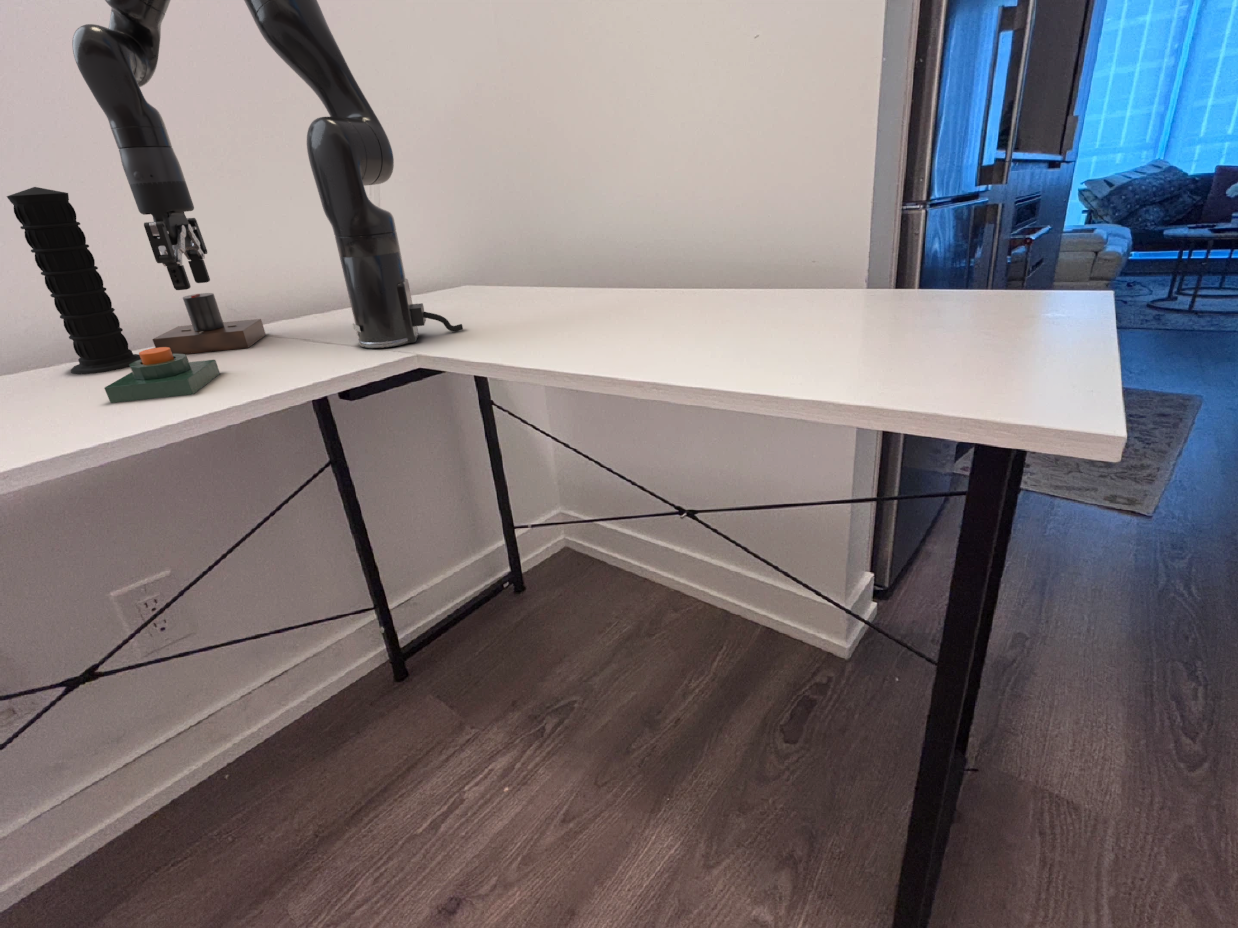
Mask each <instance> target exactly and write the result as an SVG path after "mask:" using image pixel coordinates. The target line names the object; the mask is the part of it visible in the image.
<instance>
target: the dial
mask: <svg viewBox="0 0 1238 928" xmlns="http://www.w3.org/2000/svg"><path fill="white" fill-rule="evenodd" d="M182 300H183V303H184V305H185V309H186V312H187V315H188V317H189V320H190V324H191V325H192V326H193V329H194V331H208V330H214V329H218V328H222V327H224V323H223V322H224V321H223V318H222V315H221V311H220V308H219V306H218V302H217V299H216V296H215V294H214V292H201V293H195V294H188V295H185V296H182Z"/></svg>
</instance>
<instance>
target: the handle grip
mask: <svg viewBox="0 0 1238 928" xmlns="http://www.w3.org/2000/svg"><path fill="white" fill-rule="evenodd" d="M6 198H7V199H8V201H9V202H10V203H11V204H12V205H13V213H14V216H15V218H16V219H17V221H18V222H19V223H20V224H21V226H20V229H21V230H24V238H25V241H26V243H27V245H28V246H29V247H30V248H31V249H30V252H31V253H33V254H34V261H35V263H36V265H37V267H38V268H39V270H40V271H41V272H40V275H42V276H44V284H45V287H46V289H47V290H48V291H49V292H50V293H51V294H50V295H49V296H50V297H51V298H53V301H54V302H53V303H54V306H55V309H56V311H57V312H58V313H59V314H60V315H59V319H61V320H63V327H64V329H65V331H66V333H67V334H68V335H69V336H68V339H69V340H72V346H73V349H74V353H75V354H76V355H77V356H78V357H79V358H78V364H75V365H74V366H73V367H72V368H70V374H72V375H80V376H81V375H96V374H101V373H109V372H115V371H119V370H124V369H128V368H130V366H129V364H131V363H133V362H135V361H137V360H141V358H140V355H139V353H133V350H132V349H130V348H129V343H128V340H127V338H126V336H125V335H124V334H123V333H122V332H123V330H124V329H123V328H122V327H121V322H120V319H119V317H118V316H117V315H116V313H115V310H116V309H115V308H114V307H113V305H112V299H111V297H110V295H108V294H107V292H106V291H107V288H106V287H104V279H103V278H102V276H101V274H100V272H98V271H97V270H98V269H99V267H98V266H97V265H96V263H95V262H96V261H95V257H94V256H93V253H92V252H91V250H90V249H88V248H89V247H90V245H89V244H87V239H86V238H87V237H86V235H85V232H84V231H83V230H82V228H81V227H80V226H81V223H80V221H78V220H77V212H76V210H75V207H73V205H72V204H71V203H70V201H69V200H70V197H69V192H64V191H58V190H54V189H49V188H44V187H39V186H38V187H37V186H33V187H30V188H27V189H24V190H21V191H18V192H15V193H11V194H9V195H7V196H6Z"/></svg>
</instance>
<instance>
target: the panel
mask: <svg viewBox="0 0 1238 928" xmlns="http://www.w3.org/2000/svg"><path fill="white" fill-rule="evenodd" d="M223 323H224V327H222V328H218V329H214V330H208V331H194V329H193V326H192V324H189V325H178V326H176V327H173V328H172V329H169V330H168V331H166V332H164V333H162V334H160V335H158V336H156V337H154V338H152V343H153V345H154V348H159V347H169V348H170V349H171V352H172V354H185V355H192V354H201V353H212V352H221V351H233V350H243V349H249V348H251V347H252V346H253V345H254V344H256V343H257V342H259V341H260V340H261V339H262V338H264V337H265V336H266V335H267V334H266V331H265V327H264V324H263V320H262V318H256V319H255V318H254V319H243V320H233V321H223Z"/></svg>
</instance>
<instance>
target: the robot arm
mask: <svg viewBox="0 0 1238 928" xmlns="http://www.w3.org/2000/svg"><path fill="white" fill-rule="evenodd" d="M243 1H244V3H245V6H246V8H247V10H248V11H249V13H250V15H251V17H252V19H253V21H254V23H255V25H256V27H257V29H258V31H259V33H260V35H261V36H262V37H263V39H264V40H265V42H266V43H267V45H268V46H269V47H270V48H271V49H272V50H273V51H274V53H275V54H276V55H277V56H278V57H279V58H280V59H281V60H282V61H283V62H284V63H285V64H286V65H287V66H288V68H290V69H291V70H292V71H293V72H294V73H295V74H296V76H298V77H300V79H301V80H302V81H303V82H304V83H305V84H306V85H307V86H308V87H309V88H310V89H311V90H312V91H313V92H314V94H315V95H316V96H317V97H318V100H320V101H321V103H322V105H323V107H324V108H325V109H326V111H327V113H328V115H329V116H321V117H320V116H319V117H317V118H315V119H314V120H312V121H311V123H310V124H309V126H308V129H307V132H306V152H307V156H308V161H309V166H310V169H311V172H312V176H313V179H314V183H315V186H316V189H317V193H318V196H319V199H320V203H321V207H322V210H323V213H324V215H325V217H326V218H327V220H328V222H329V224H330V225H331V228H332V231H333V235H334V240H335V244H336V248H337V252H338V256H339V261H340V265H341V269H342V273H343V278H344V282H345V285H346V291H347V295H348V299H349V305H350V308H351V311H352V317H353V320H354V323H352V327H353V330H355V331H356V334H357V337H358V344H359V346H360V347H362V348H366V349H385V348H391V347H398V346H403V345H407V344H413V343H416V342H417V340H418V337H419V330H418V329H419V328H418V327H423V326H425V325H426V321H427V319H428V320H434V321H437V322H440V323H442V324H443V325H444V327H445V328H446V329H447V330H448V331H449V332H452V333H453V332H460V331H463V330H464V329H463V328H464V326H463V324H462V323H459V324H456V325H452V324H451V323H450V321H449V320H448V319H447V318H446V317H444V316H442V315H440V314H437V313H432V312H428V311H425V307H424V303H423V302H422V303H413V299H412V294H411V288H410V283H409V279H408V278H406V274H405V273H406V272H405V269H404V264H403V263H404V261H403V258H402V253H401V248H400V243H399V237H398V232H397V226H396V222H395V218H394V215H393V214H392V213H391V211H388V210H386V209H384V208H381V207H379V206H377V205H376V204H374V203H373V202H372V201H371V199H370V198H369V196H368V194H367V191H366V186H374V185H381V184H384V183H386V182H388V181H389V180H390V178H391V177H392V174H393V172H394V167H395V158H394V153H393V147H392V145H391V142H390V139H389V136H388V135H387V133H386V131H385V129H384V127H383V124H381V121H380V120H379V118H378V117H377V115H376V113H375V111H374V110H373V108H372V106H371V104H370V103H369V101H368V99H367V98H366V96H365V94H364V92H363V91H362V89H361V87H360V85H359V83H358V82H357V80H356V78H355V77H354V75H353V73H352V71H351V69H350V67H349V65H348V62H347V61H346V59H345V57H344V55H343V53H342V51H341V49H340V47H339V45H338V43H337V41H336V39H335V37H334V34H332V31H331V29H330V27H329V24H328V22H327V20H326V18H325V15H324V13H323V10H322V9H321V6H320V4H319V2H318V0H243ZM104 2H106V4H107V5H108V6H109V7H110V16H109V24H108V27H106V26H104V25H100V24H94V23H87V24H83V25H80V26H79V27H78V28H77V29H76V30H75V31H74V33H73V36H72V41H71V46H72V54H73V58H74V61H75V64H76V66H77V69H78V71H79V73H80V74H81V76H82V78H83V80H84V82H85V84H86V85H87V87H88V88H89V89H88V90H90V92H91V94H92V96H93V97H94V99H95V101H96V103H97V104H98V106H99V107H100V109H101V110H102V111H103V113H104V115H105V117H106V119H107V120H108V124H109V129H110V130H111V133H112V136H113V138H114V141H115V144H116V147H117V149H118V153H119V156H120V162H121V166H122V169H123V172H124V173H125V174H124V175H125V177H126V180H127V183H128V185H129V188H130V191H131V193H132V197H133V200H134V201H135V205H136V207H137V210H138V212H139V213H140V214H141V215H144V216H146V215H150V216H152V220H153V221H148V222H147V221H146V222H144V223H143V228H144V230H145V233H146V236H147V240H148V242H149V245H150V248H151V250H152V254H153V257H154V260H155V262H156V264H162V265H163V266H164V267H166V271H167V273H168V275H169V278H170V281H171V284H172V287H173V288H174V290H175V291H187V290H189V289H191V282H190V280H189V277H188V274H187V272H186V269H185V266H184V264H183V255H184V256H185V257H186V259H187V262H188V265H189V268H190V271H191V274H192V276H193V280H194V282H195V283H196V284H204V283H209V282H210V281H211V277H210V275H209V272H208V269H207V266H206V263H205V258H206V257H205V255H208V249H207V246H206V243H205V241H204V237H203V235H202V233H201V229H200V227H199V223H198V220H197V219H196V218H195V217H187V216H186V214H185V213H187V212H192V211H194V210H195V206H194V202H193V199H192V197H191V193H190V191H189V187H188V185H187V182H186V178H185V176H184V175H185V174H184V172H183V170H182V166H181V164H180V161H179V159H178V157H177V155H176V153H175V151H174V148H173V145H172V142H171V139H170V136H169V133H168V129H167V127H166V124H165V121H164V119H163V116H162V114H161V113H160V111H159V110H158V109H157V108H156V107H154V106H153V105H152V104H150V103H149V102H148V101H147V100H146V98H145V96H144V94H143V91H142V89H141V87H144V86H145V85H147V84H148V83H149V82H150V81H151V79H152V78H153V76H154V74H155V73H156V69H157V66H158V62H159V55H160V47H161V38H162V37H161V36H162V35H161V34H162V24H163V20H164V19H165V16H166V14H167V11H168V9H169V5H170V3H171V0H104Z"/></svg>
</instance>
